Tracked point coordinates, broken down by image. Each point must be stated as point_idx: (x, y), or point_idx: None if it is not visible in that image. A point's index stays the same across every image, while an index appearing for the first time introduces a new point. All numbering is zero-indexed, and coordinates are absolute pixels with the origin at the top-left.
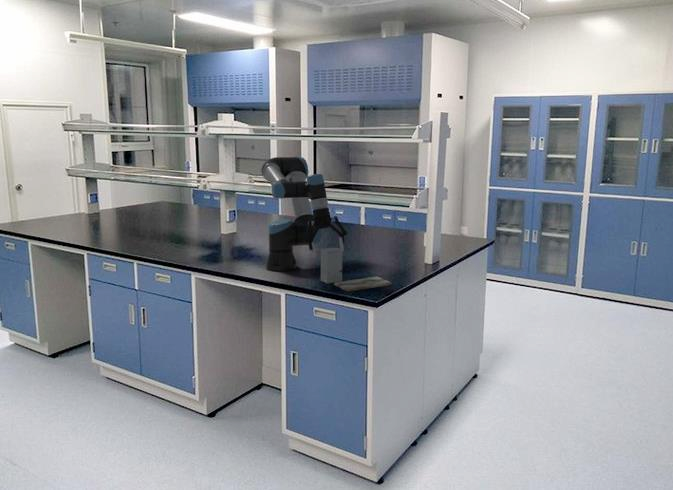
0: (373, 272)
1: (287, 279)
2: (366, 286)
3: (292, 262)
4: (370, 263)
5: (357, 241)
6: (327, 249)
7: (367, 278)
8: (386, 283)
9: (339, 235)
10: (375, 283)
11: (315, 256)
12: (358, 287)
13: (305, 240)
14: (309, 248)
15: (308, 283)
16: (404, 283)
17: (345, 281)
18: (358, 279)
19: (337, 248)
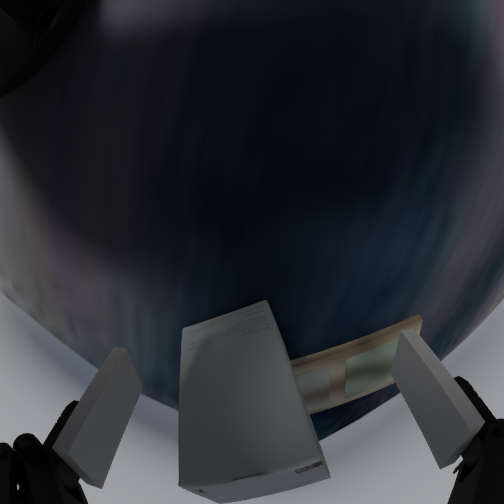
0: (458, 227)
1: (29, 265)
2: (325, 409)
3: (25, 44)
4: (496, 75)
5: None
6: (227, 497)
7: (379, 348)
8: (391, 383)
9: (481, 451)
10: (364, 391)
11: (137, 390)
12: None
13: (27, 487)
14: (66, 416)
15: (126, 343)
16: None
17: None
18: (345, 354)
19: (310, 477)
